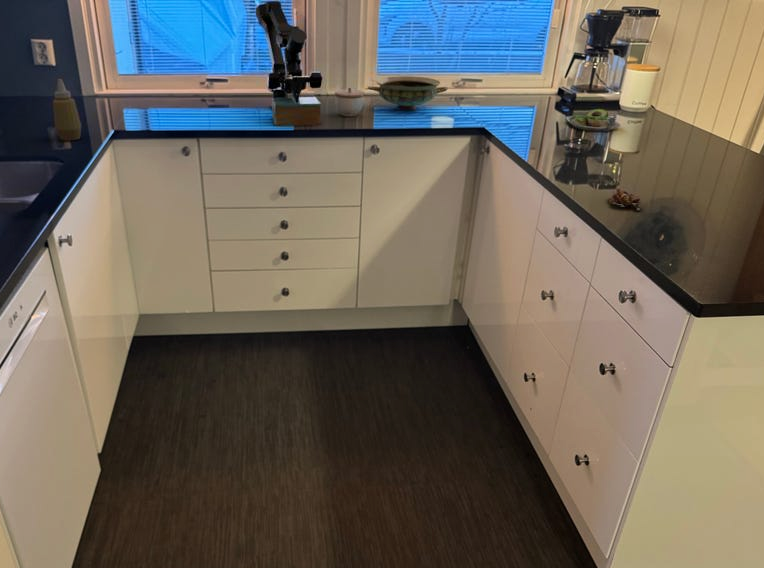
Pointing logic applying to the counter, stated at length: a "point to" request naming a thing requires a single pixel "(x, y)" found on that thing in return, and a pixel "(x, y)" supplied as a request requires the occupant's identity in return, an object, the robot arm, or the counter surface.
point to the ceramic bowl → (408, 90)
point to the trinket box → (349, 101)
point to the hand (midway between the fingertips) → (297, 101)
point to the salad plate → (593, 121)
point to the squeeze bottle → (66, 114)
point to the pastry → (624, 199)
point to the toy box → (296, 115)
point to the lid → (291, 102)
